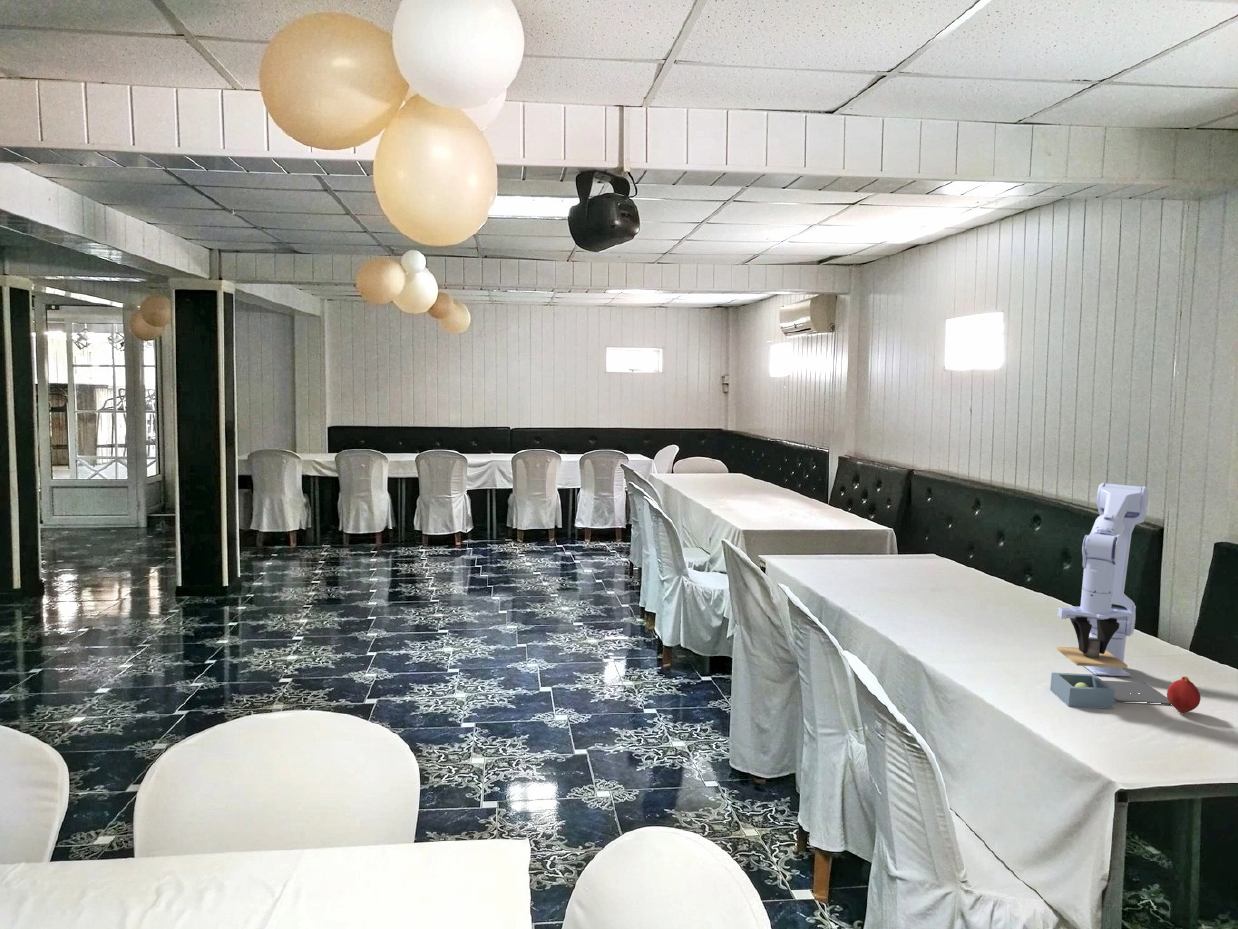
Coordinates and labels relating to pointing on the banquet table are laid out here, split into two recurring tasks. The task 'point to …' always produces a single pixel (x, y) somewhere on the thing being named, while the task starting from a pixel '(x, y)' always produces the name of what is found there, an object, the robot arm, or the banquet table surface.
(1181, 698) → the pomegranate
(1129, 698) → the mat
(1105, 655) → the lid
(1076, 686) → the lime
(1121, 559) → the robot arm
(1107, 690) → the blue-grey square box
